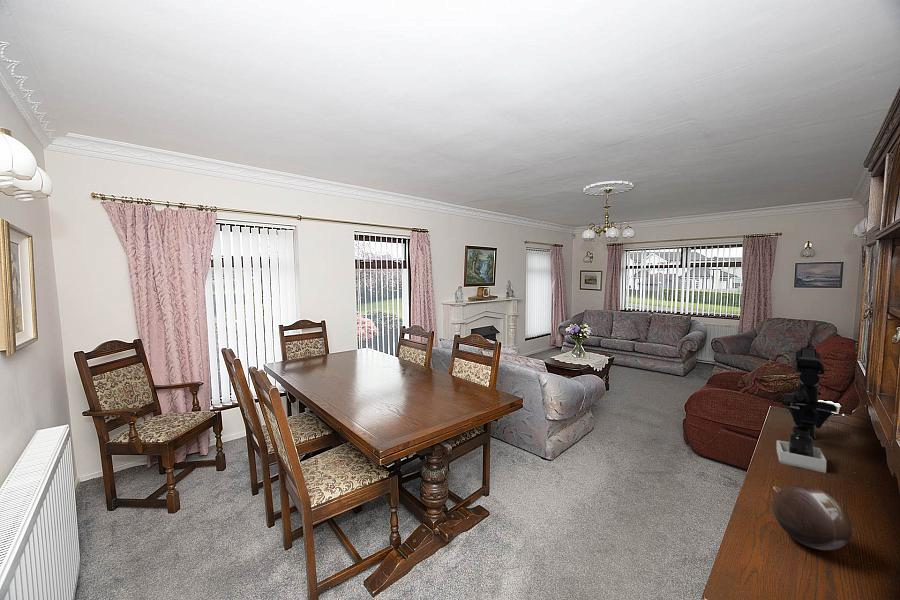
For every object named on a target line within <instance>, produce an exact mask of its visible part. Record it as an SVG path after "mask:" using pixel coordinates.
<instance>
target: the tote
mask: <svg viewBox="0 0 900 600" xmlns="http://www.w3.org/2000/svg"><path fill="white" fill-rule="evenodd" d="M776 450H777V451H776V454H777V458H778V461H779V463H780V464H783V465H787V466H793V467H797V468H802V469H806V470H811V471H815V472H819V473H825V474H827V459H826V458H825V456H824V454H823V452H822V449H821V448H820V447H815V446H813V457H808V456H803V455H798V454H793V453H789V441H783V440H776Z"/></svg>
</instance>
